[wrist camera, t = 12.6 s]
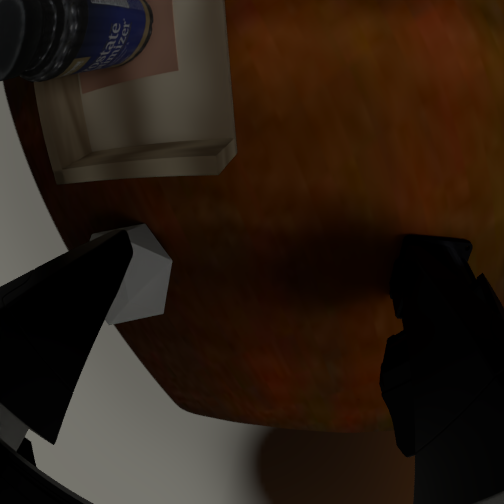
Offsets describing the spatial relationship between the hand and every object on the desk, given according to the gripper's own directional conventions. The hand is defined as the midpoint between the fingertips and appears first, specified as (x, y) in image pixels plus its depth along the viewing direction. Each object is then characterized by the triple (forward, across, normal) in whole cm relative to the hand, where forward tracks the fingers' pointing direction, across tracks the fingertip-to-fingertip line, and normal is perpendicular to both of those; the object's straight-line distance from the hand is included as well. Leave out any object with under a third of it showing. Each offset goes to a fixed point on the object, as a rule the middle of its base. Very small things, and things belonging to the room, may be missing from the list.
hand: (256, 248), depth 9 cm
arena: (+13, +11, -7) cm, 18 cm away
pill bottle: (+13, +12, -10) cm, 20 cm away
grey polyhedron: (+13, +14, +10) cm, 22 cm away
